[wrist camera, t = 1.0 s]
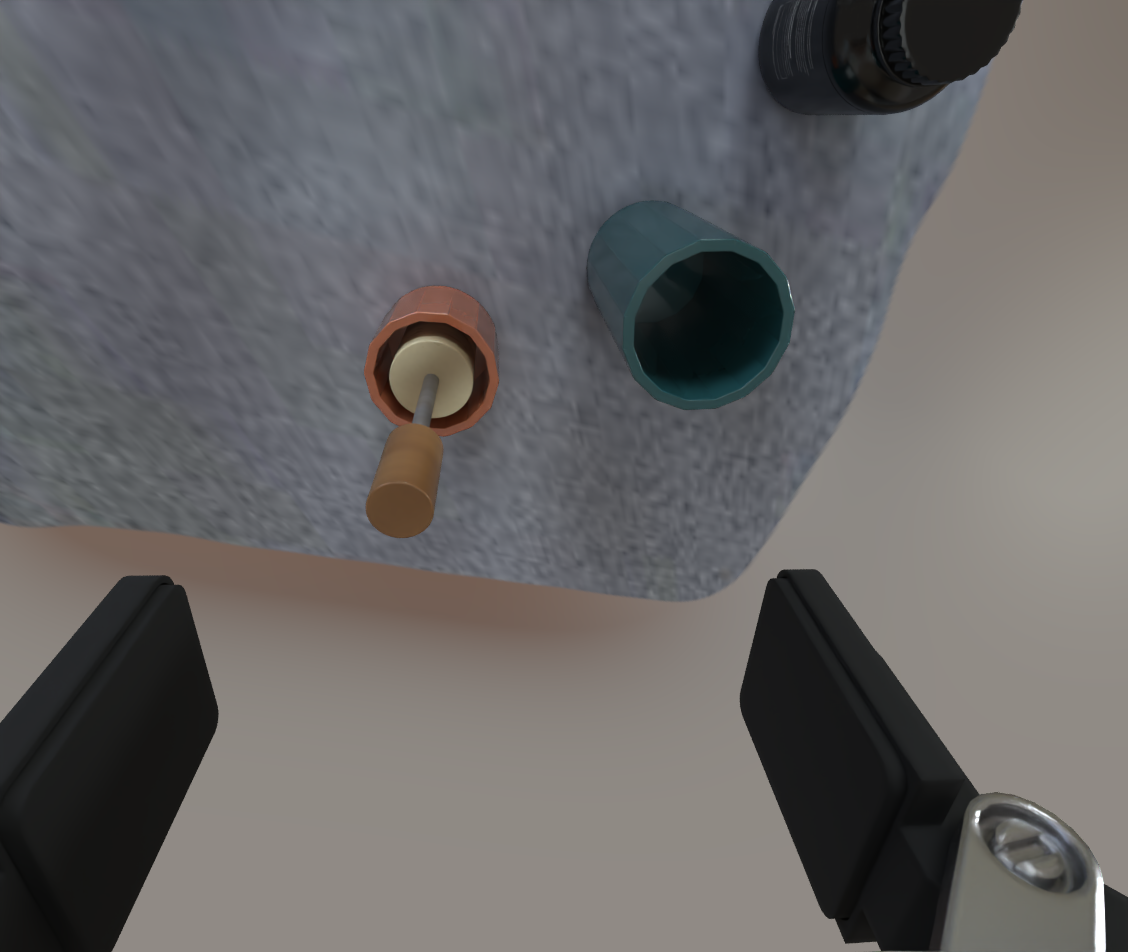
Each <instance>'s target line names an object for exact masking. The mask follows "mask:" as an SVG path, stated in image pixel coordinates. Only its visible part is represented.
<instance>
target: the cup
mask: <svg viewBox="0 0 1128 952" xmlns="http://www.w3.org/2000/svg"><path fill="white" fill-rule="evenodd" d="M587 279H588V286H589V288H590V291H591V294H592V296H593V298H594V301H595V303H596V305H597V307H598V309H599V311H600V313H601V315H602V317H603V319H604V321H605V323H606V325H607V327H608V329H609V331H610V333H611V335H612V337H613V339H614V341H615V343H616V345H617V347H618V349H619V351H620V353H621V355H622V356H623V358H624V360H625V362H626V364H627V366H628V368H629V370H630V372H631V374H632V376H633V378H634V379H635V380H636V381H637V382H638V383H639V384H640V385H641V386H642V387H643V388H644V389H645V390H646V391H647V392H648V393H649V394H650V395H651V396H652V397H653V398H654V399H656V400H658V401H660V402H663V403H666V404H669V405H672V406H674V407H677V408H680V409H683V410H697V409H716V408H719V407H721V406H724V405H726V404H729V403H731V402H733V401H736V400H738V399H741V398H743V397H745V396H746V395H748V394H749V393H751V392H752V391H753V390H754V389H755V388H756V387H757V386H759V385H760V384H761V383H762V382H763V381H764V380H765V379H766V378H768V377H769V376H770V375H771V374H772V373H773V371H774V370H775V368H776V366H777V364H778V363H779V361H780V359H781V357H782V356H783V354H784V352H785V350H786V349H787V347H788V345H789V343H790V337H791V331H792V325H793V319H794V313H795V308H794V304H793V300H792V296H791V291H790V287H789V283H788V279H787V277H786V276H785V274H784V273H783V272H782V271H781V269H780V268H779V267H778V266H777V265H776V263H775V262H774V261H773V260H772V258H771V257H770V256H769V255H768V253H766V252H765V251H763V250H761V249H759V248H757V247H755V246H754V245H752V244H750V243H748V242H746V241H744V240H742V239H740V238H738V237H736V236H735V235H733V234H731V233H729V232H727V231H725V230H723V229H721V228H719V227H717V226H715V225H714V224H712V223H710V222H708V221H706V220H704V219H702V218H700V217H698V216H696V215H695V214H693V213H691V212H689V211H687V210H684V209H682V208H680V207H678V206H676V205H673V204H671V203H669V202H666V201H664V202H663V201H652V200H651V201H642V202H638V203H634V204H631V205H629V206H626V207H625V208H623V209H621V210H619V211H618V212H616V213H615V214H614V215H612V216H611V217H610V218H609V219H608V220H607V221H606V222H605V223H604V224H603V226H602V227H601V228H600V229H599V231H598V233H597V234H596V236H595V238H594V240H593V242H592V244H591V247H590V250H589V254H588V259H587Z"/></svg>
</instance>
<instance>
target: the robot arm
mask: <svg viewBox="0 0 1128 952" xmlns="http://www.w3.org/2000/svg"><path fill="white" fill-rule="evenodd" d="M740 707H741V712H742V715H743V718H744V721H745V723H746V726H747V728H748V731H749V733H750V736H751V737H752V741H753V743H754V745H755V748H756V750H757V753H758V755H759V758H760V760H761V763H762V765H763V767H764V770H765V772H766V775H767V777H768V780H769V783H770V785H771V787H772V790H773V792H774V795H775V797H776V800H777V802H778V805H779V807H780V810H781V812H782V814H783V817H784V820H785V822H786V824H787V827H788V829H789V832H790V834H791V837H792V839H793V842H794V844H795V846H796V849H797V852H798V854H799V856H800V859H801V861H802V864H803V866H804V869H805V871H806V874H807V876H808V879H809V881H810V884H811V886H812V889H813V891H814V894H815V896H816V899H817V901H818V904H819V906H820V908H821V910H822V912H823V913H824V915H825V916H826V917H827V918H829V919H834V918H835V920H836V922H837V925H838V927H839V929H840V932H841V934H842V937H843V939H844V941H845V943H861V942H877V943H878V945H879V947H880V949H881V951H874V952H1128V897H1126V896H1125V895H1123V894H1121V893H1119V892H1118V891H1116V890H1114V889H1112V888H1110V887H1108V886H1107V885H1105V884H1103V879H1102V875H1101V871H1100V866H1099V864H1098V862H1097V860H1096V859H1095V857H1094V855H1093V853H1092V852H1091V850H1090V848H1089V847H1088V846H1087V844H1086V843H1085V842H1084V841H1083V840H1082V839H1081V838H1080V837H1079V835H1078V834H1077V833H1076V832H1075V831H1074V830H1073V829H1072V828H1071V827H1070V826H1068V825H1067V824H1066V823H1065V822H1063V821H1062V820H1061V819H1060V818H1058V817H1057V816H1056V815H1055V814H1053V813H1051V812H1050V811H1048V810H1046V809H1044V808H1043V807H1041V806H1039V805H1038V804H1036V803H1034V802H1031V801H1029V800H1026V799H1023V798H1021V797H1018V796H1015V795H1011V794H1004V793H998V792H994V793H987V794H981V795H979V793H978V792H977V790H976V789H975V788H974V786H973V785H972V783H971V782H970V781H969V779H968V778H967V776H966V775H965V774H964V772H963V771H962V769H961V768H960V766H959V765H958V764H957V762H956V761H955V759H954V758H953V757H952V755H951V754H950V752H949V751H948V750H947V748H946V747H945V745H944V744H943V742H942V741H941V740H940V738H939V737H938V735H937V734H936V733H935V731H934V730H933V728H932V727H931V726H930V724H929V723H928V721H927V720H926V719H925V717H924V716H923V714H922V713H921V711H920V710H919V709H918V707H917V706H916V704H915V703H914V702H913V700H912V699H911V698H910V696H909V695H908V693H907V692H906V690H905V689H904V687H903V686H902V685H901V683H900V682H899V680H898V679H897V678H896V676H895V675H894V674H893V672H892V671H891V669H890V668H889V666H888V665H887V664H886V662H885V661H884V659H883V658H882V657H881V656H880V655H879V654H878V653H877V651H875V649H874V648H873V646H872V645H871V644H870V642H869V641H868V639H867V638H866V637H865V635H864V634H863V632H862V631H861V629H860V628H859V627H858V625H857V624H856V622H855V621H854V620H853V618H852V617H851V615H850V614H849V612H848V611H847V610H846V608H845V607H844V605H843V604H842V603H841V601H840V600H839V598H838V597H837V595H836V594H835V593H834V591H833V590H832V589H831V587H830V586H829V584H828V583H827V581H826V580H825V578H824V577H823V576H822V574H821V573H820V572H819V571H817V570H814V569H806V570H805V569H803V570H802V569H800V570H782V571H780V572H779V574H778V576H777V578H773V579H770V580H769V581H768V583H767V586H766V590H765V594H764V598H763V602H762V606H761V610H760V614H759V619H758V623H757V627H756V631H755V635H754V639H753V643H752V647H751V651H750V655H749V659H748V663H747V668H746V671H745V676H744V680H743V684H742V688H741V692H740ZM217 723H218V706H217V702H216V699H215V695H214V692H213V688H212V684H211V681H210V677H209V674H208V670H207V667H206V663H205V660H204V656H203V652H202V649H201V645H200V642H199V638H198V635H197V631H196V628H195V624H194V620H193V617H192V613H191V609H190V606H189V602H188V599H187V595H186V592H185V590H184V588H183V587H182V586H181V585H174V583H173V581H172V580H171V579H170V577H168V576H165V575H162V576H126V577H123V578H122V579H121V580H119V581H118V583H117V584H116V585H115V586H114V587H113V589H112V590H111V591H110V592H109V593H108V594H107V596H106V597H105V598H104V599H103V601H102V602H101V603H100V604H99V605H98V606H97V608H96V609H95V610H94V611H93V612H92V614H91V615H90V616H89V617H88V618H87V620H86V621H85V622H84V623H83V625H82V626H81V627H80V628H79V629H78V630H77V632H76V633H75V634H74V635H73V636H72V638H71V639H70V640H69V641H68V642H67V644H66V645H65V646H64V647H63V648H62V650H61V651H60V652H59V653H58V654H57V656H56V657H55V658H54V659H53V660H52V662H51V663H50V664H49V665H48V666H47V668H46V669H45V670H44V671H43V672H42V674H41V675H40V676H39V677H38V678H37V680H36V681H35V682H34V683H33V684H32V686H31V687H30V688H29V689H28V690H27V692H26V693H25V694H24V695H23V696H22V698H21V699H20V700H19V701H18V702H17V704H16V705H15V706H14V707H13V708H12V710H11V711H10V712H9V713H8V714H7V716H6V717H5V718H4V719H3V720H2V722H1V723H0V952H111V951H112V950H113V948H114V946H115V944H116V942H117V940H118V938H119V935H120V933H121V931H122V929H123V927H124V925H125V923H126V920H127V918H128V916H129V914H130V912H131V910H132V908H133V906H134V904H135V901H136V899H137V897H138V895H139V893H140V891H141V888H142V887H143V884H144V882H145V880H146V878H147V876H148V874H149V872H150V869H151V867H152V865H153V863H154V861H155V859H156V857H157V854H158V852H159V850H160V848H161V846H162V844H163V842H164V840H165V837H166V835H167V833H168V831H169V829H170V827H171V824H172V823H173V820H174V818H175V816H176V814H177V812H178V810H179V807H180V806H181V803H182V801H183V799H184V797H185V795H186V793H187V790H188V789H189V786H190V784H191V782H192V780H193V778H194V776H195V774H196V772H197V769H198V767H199V765H200V763H201V761H202V759H203V757H204V754H205V752H206V750H207V748H208V746H209V744H210V742H211V739H212V737H213V735H214V733H215V731H216V728H217Z"/></svg>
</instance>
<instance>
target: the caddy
mask: <svg viewBox="0 0 1128 952" xmlns="http://www.w3.org/2000/svg"><path fill="white" fill-rule="evenodd" d="M418 321H424V322H437V323H447V324H449V325H450V326H452V327H454V328H456V329H458V330H460V331H461V332H463V333H465V334H467V335H469V336H470V337H471V338H472V340H473V341H474V342H475V344H476V358H475V369H474V380H473V389H472V392H471V395H470V397H469V399H468V401H467V402H466V403H465V405H464V406H463V407H462V408H461V409H460V410H458V411H457V412H455V413H453V414H451V415H448V416H445V417H441V418H431V422H430V427H429V428H430V429H432V430H433V431H434V432H435V433H436V434H437V435H438V436H449V435H451V434H454V433H457V432H460V431H462V430H465V429H468V428H470V427H472V426H474V425H475V424H476V423H477V421H478V420H479V419H480V418H481V417H482V416H483V415H484V414H485V413H486V412H487V411H488V410H489V409H490V408H491V406H492V403H493V400H494V397H495V394H496V390H497V387H498V384H499V347H498V341H497V334H496V330H495V325H494V323H493V322H492V319H491V318H490V316H489V314H488V313H487V311H486V310H485V309H484V307H483V306H482V305H481V304H480V303H479V302H478V301H476V300H475V299H474V298H473V297H471V296H470V295H468V294H466V293H464V292H462V291H460V290H458V289H454V288H451V287H446V286H427V287H422V288H418V289H416V290H413V291H411V292H409V293H408V294H406V295H404V296H402V297H401V298H400V299H399V300H398V301H397V302H396V303H395V304H394V306H393V307H392V308H391V310H390V311H389V312H388V313H387V314H386V316H385V317H384V319H383V321H382V323H381V325H380V327H379V328H378V330H377V332H376V334H375V336H374V338H373V340H372V341H371V343H370V345H369V349H368V354H367V359H366V364H365V369H364V375H365V379H366V382H367V386H368V389H369V393H370V396H371V399H372V401H373V402H374V403H375V405H376V406H377V407H378V408H379V409H380V410H381V411H382V413H383V414H384V415H385V416H386V417H387V418H388V419H389V421H390V422H392V423H394V424H396V425H398V426H402V425H405V424H411V423H412V421H413V417H414V413H412V412H410V411H409V410H407V409H406V408H405V407H403V406H402V405H401V404H400V403H399V401H398V400H397V399H396V397H395V396H394V394H393V392H392V389H391V386H390V380H389V372H390V367H391V364H392V362H393V359H394V357H395V354H396V352H397V350H398V347H399V345H400V342H401V340H402V338H403V335H404V333H405V330H406V328H407V326H408V325H411V324H413V323H416V322H418Z"/></svg>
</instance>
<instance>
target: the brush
mask: <svg viewBox="0 0 1128 952" xmlns="http://www.w3.org/2000/svg"><path fill="white" fill-rule="evenodd" d="M475 358H476V344H475V342H474V341H473V340H472V338H471V337H470V336H469V335H467V334H465V333H463V332H461V331H460V330H458V329H456V328H454V327H452V326H450V325H449V324H447V323H437V322H424V321H418V322H416V323H413V324H411V325H408V326H407V328H406V330H405V333H404V335H403V338H402V340H401V342H400V345H399V347H398V350H397V352H396V354H395V357H394V359H393V362H392V364H391V367H390V372H389V380H390V386H391V389H392V392H393V394H394V396H395V397H396V399H397V400H398V401H399V403H400V404H401V405H402V406H403V407H405V408H406V409H407V410H409V411H410V412H412V413H414V417H413V421H412V423H411V424H405V425H402V426H399V427H397V428H396V429H394V430H393V431H392V432H391V434H390V435H389V437H388V439H387V441H386V444H385V447H384V450H383V453H382V456H381V459H380V462H379V465H378V468H377V471H376V474H375V477H374V480H373V483H372V486H371V489H370V492H369V495H368V498H367V501H366V514H367V517H368V519H369V521H370V523H371V524H372V525H373V526H374V527H375V528H376V529H377V530H378V531H380V532H381V533H383V534H385V535H388V536H391V537H395V538H408V537H412V536H415V535H418V534H420V533H421V532H423V531H424V530H425V529H426V528H427V527H428V526H429V525H430V523H431V521H432V519H433V516H434V509H435V503H436V496H437V490H438V484H439V477H440V471H441V465H442V458H443V444H442V441H441V439H440V437H439V436H438V435H437V434H436V433H435V432H434V431H433V430H432V429H430V428H429V427H430V422H431V418H441V417H445V416H448V415H451V414H453V413H455V412H457V411H458V410H460V409H461V408H462V407H463V406H464V405H465V403H466V402H467V401H468V399H469V397H470V395H471V392H472V389H473V380H474V369H475Z"/></svg>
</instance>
